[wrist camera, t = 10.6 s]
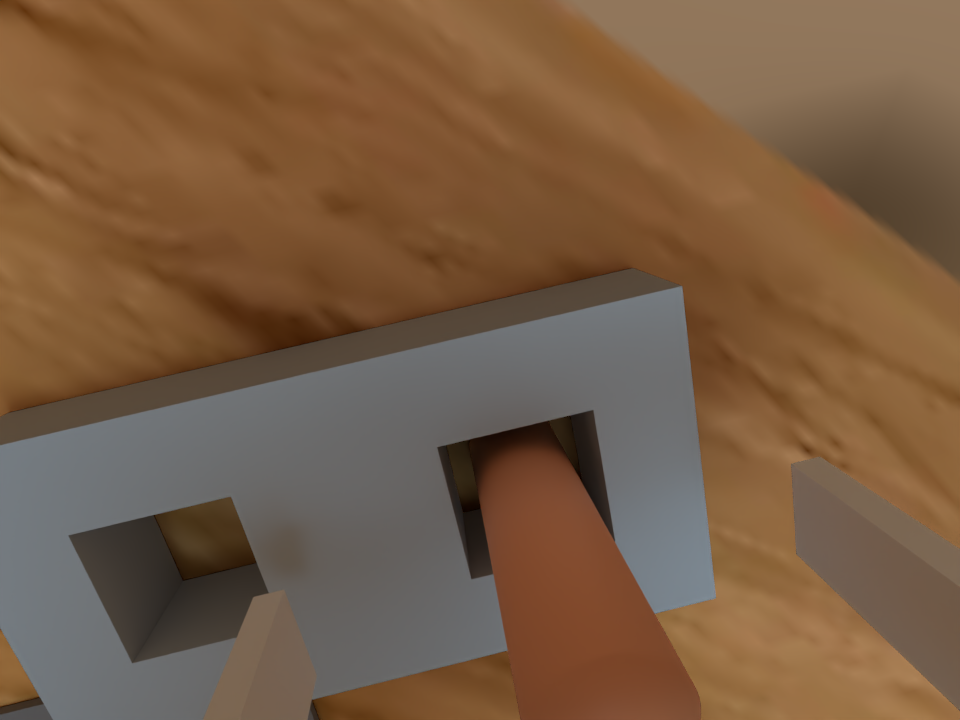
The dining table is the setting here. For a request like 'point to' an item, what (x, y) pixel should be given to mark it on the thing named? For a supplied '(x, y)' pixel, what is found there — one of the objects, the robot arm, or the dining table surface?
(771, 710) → the dining table surface
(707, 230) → the dining table surface
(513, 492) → the dowel
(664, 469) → the hole block
